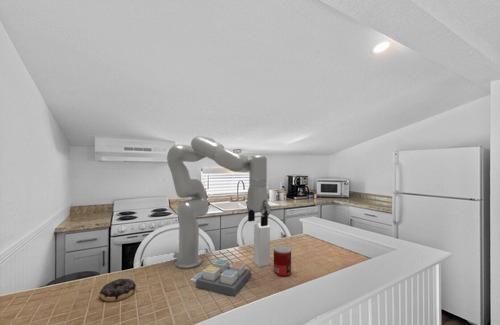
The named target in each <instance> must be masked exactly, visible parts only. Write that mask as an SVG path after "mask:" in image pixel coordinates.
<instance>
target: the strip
mask: <svg viewBox="0 0 500 325" xmlns="http://www.w3.org/2000/svg"><path fill="white" fill-rule="evenodd" d="M205 269H206V268H204V269H203V270H201V271H200V272H198V273H197V274H196V275H194V276H193V277H192V278H191V279H190V280H189V281H190V282H193V283H196V280H197V279H198V278H199V277H201V276H202V275H203V271H204V270H205Z"/></svg>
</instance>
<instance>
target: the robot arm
mask: <svg viewBox="0 0 500 325" xmlns="http://www.w3.org/2000/svg"><path fill="white" fill-rule="evenodd" d="M224 146H225V145H223V144H221V143H219V142H217V141H216V140H214V139H213V138H211V137H207V136H201V135H197V136H195V137H193V138H192V139H191V142H190V145H185V144H175V145H173V146H172V147H170V148H169V150H168V152H167V156H166V160H167V165H168V168H169V170H170V173H171V177H172V181H173V186H174V190H175V194H176V195H177V197H178V198H180V199H185V200H184V201H182V202H181V203H179V205H178V207H177V217H178V226H179V227H178V228H179V229H178V230H179V231H178V234H179V235H178V251H175V252H174V254H173V255H172V257H173V258H174V259H175V258H176V261H175V263H174V264H175V267H177V268H179V269H192V268H195V267H197V266H198V267H199V265H201V264H202V259H201V258H200V257H199V243H200V242H199V235H200V234H199V233H200V229H199V223H198V220H197V218H199V217H202V216H203V217H204V215H206V214H207V213H208V212H209V200H208V197H207V194H206V190H205V186H204V184H203V182H202V181H200V180H199V179H197V178H194V179H193V178H191V175H190V171H189V169H188V168H187V166H186V164H184V162H185V163H195V162H199V161H200V160H203V159H205V158H208V159H210V160H212V161H214V162H215V163H216V164H217V165H218V166H220V167H222V168H224V169H226V170H228V171H231V172H232V173H233V172H234V173H249V178H248V180H249V181H248V182H249V184H248V185H249V186H248V190H247V199H246V202H245V203H246V209H247V213H248V215H247V221H248V222H256V221H255V220H256V219H255V216H256V214H255V213H256V212H260V215H261V216H260V220H261V226H267V225H269V219H268V218H269V217H270V216H269V215H270V214H271V209H272V206H271V205H270V204H269V197H268V188H267V184H268V183H267V177H268V175H267V173H268V172H267V170H268V169H267V167H268V160H267V157H266V155H261V154H260V155H257V154H256V155H251V156H249V155H243V154H237V153H234V152H232V151H229V150H227V149H225V147H224ZM188 198H191V199H188Z"/></svg>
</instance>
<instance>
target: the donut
mask: <svg viewBox="0 0 500 325" xmlns="http://www.w3.org/2000/svg"><path fill="white" fill-rule="evenodd" d="M136 287H137V284H136V283H135V281H134V280H133V279H131V278H118V279H114V280H112V281H110V282H108V283H106V284H104V286H103V287H102V288H101V290H100V291H99V296H100V299H101V300H103V301H105V302H117V301H121V300H124V299H127V298H129V297H130V296H132V295H133V294H134V293H135V291H136V289H137V288H136Z"/></svg>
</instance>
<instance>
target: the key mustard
mask: <svg viewBox="0 0 500 325" xmlns="http://www.w3.org/2000/svg"><path fill="white" fill-rule="evenodd" d="M204 269H205V270H204ZM204 269H203V270H204V271H203V270H202V271H203V279H206V280H210V281H215V280H216V279H217V278H218V277H219V276H220V268H218V267H213V266H212V265H209V266H208V267H207V268H204Z"/></svg>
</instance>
